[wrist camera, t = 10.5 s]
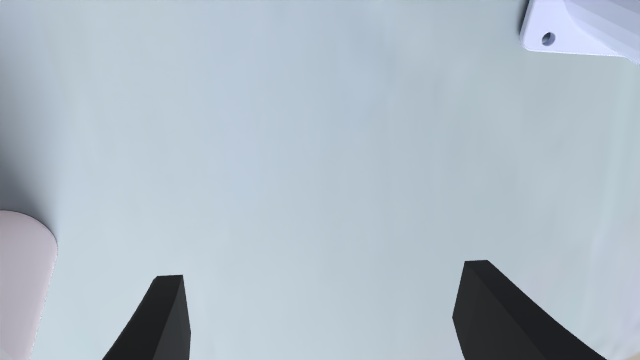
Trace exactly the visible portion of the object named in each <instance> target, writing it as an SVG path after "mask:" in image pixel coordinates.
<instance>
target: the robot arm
mask: <svg viewBox="0 0 640 360" xmlns="http://www.w3.org/2000/svg"><path fill="white" fill-rule="evenodd" d="M549 32H550V33H551V35H550V38H549V40H548V41H546V42H544V43H542V38H543V36H544V35H545V34H546V33H549ZM519 41H520V44H521V45H522V46H523V47H524V48H525V49H527V50H530V51H539V52H555V53H572V54H588V55H605V56H621V57H625V58H627V59H629V60H630V61H632V62H634V63H636V64H637V65H639V66H640V0H530V1H529V5H528V8H527V11H526V15H525V18H524V22H523V25H522V29H521V32H520V37H519ZM452 318H453V322H454V326H455V329H456V333H457V337H458V340H459V343H460V347H461V350H462V353H463V356H464V358H465V360H607V359H605V358H604V357H602V356H601V355H599V354H598V353H597V352H595V351H594V350H592V349H591V348H590V347H588V346H587V345H586V344H584V343H583V342H582V341H581V340H579V339H578V338H577V337H575V336H574V335H573V334H572V333H570V332H569V331H568V330H566V329H565V328H564V327H563V326H562V325H560V324H559V323H558V322H557V321H555V320H554V319H553V318H552V317H551V316H550V315H548V314H547V313H546V312H545V311H544V310H543V309H541V308H540V307H539V306H538V305H537V304H536V303H535V302H533V301H532V300H531V299H530V298H529V297H528V296H527V295H526V294H524V293H523V292H522V291H521V290H520V289H519V288H518V287H517V286H516V285H515V284H513V283H512V282H511V281H510V280H509V279H508V278H507V277H506V276H505V275H504V274H503V273H501V272H500V271H499V270H498V269H497V268H496V267H495V266H494V265H493V264H491V263H490V262H489V261H488V260H477V261H465V263H464V267H463V272H462V276H461V281H460V285H459V289H458V294H457V298H456V303H455V307H454V312H453V316H452ZM190 339H191V330H190V323H189V316H188V309H187V302H186V294H185V287H184V280H183V275H169V276H157V277H156V278H155V279H154V280H153V281H152V283H151V285H150V287H149V289H148V291H147V292H146V294H145V296H144V298H143V299H142V301H141V303H140V305H139V306H138V308H137V309H136V311H135V313H134V314H133V316H132V317H131V319H130V321H129V322H128V324H127V325H126V327H125V328H124V329H123V331H122V332H121V334H120V335H119V337H118V338H117V340H116V341H115V343H114V344H113V346H112V347H111V348H110V350H109V351H108V352H107V354H106V355H105V356H104V358H103V359H102V360H189V354H190Z"/></svg>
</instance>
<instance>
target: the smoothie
mask: <svg viewBox="0 0 640 360" xmlns="http://www.w3.org/2000/svg"><path fill="white" fill-rule="evenodd" d="M57 254H58V246H57V242H56V240H55V238H54V236H53V235H52V233H51V232H50V231H49V229H48V228H47V227H45V226H44V225H43V224H42V223H40V222H39V221H37V220H36V219H34V218H32V217H30V216H28V215H25V214H22V213H18V212H14V211H4V210H2V211H0V360H30V358H31V354H32V350H33V347H34V343H35V339H36V335H37V331H38V327H39V324H40V320H41V316H42V312H43V308H44V305H45V301H46V297H47V293H48V289H49V285H50V282H51V278H52V274H53V270H54V266H55V263H56V259H57Z"/></svg>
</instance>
